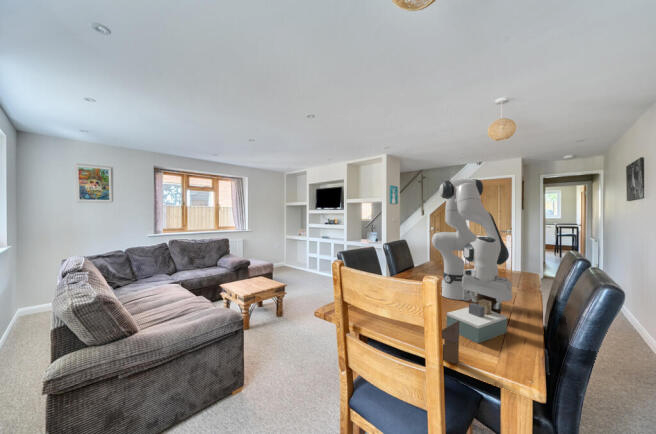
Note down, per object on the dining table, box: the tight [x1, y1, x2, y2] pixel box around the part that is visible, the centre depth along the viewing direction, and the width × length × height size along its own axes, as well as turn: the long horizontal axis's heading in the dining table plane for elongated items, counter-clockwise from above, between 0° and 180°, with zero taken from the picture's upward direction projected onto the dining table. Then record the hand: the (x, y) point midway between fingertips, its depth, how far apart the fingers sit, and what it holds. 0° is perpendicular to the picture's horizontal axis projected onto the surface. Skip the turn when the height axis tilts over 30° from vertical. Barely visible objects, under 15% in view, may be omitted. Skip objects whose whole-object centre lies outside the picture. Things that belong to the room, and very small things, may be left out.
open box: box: [446, 314, 508, 344], centre depth 110 cm, size 20×14×6 cm
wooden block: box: [441, 320, 460, 365], centre depth 90 cm, size 4×11×18 cm, turn 38°
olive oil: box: [476, 293, 503, 315], centre depth 124 cm, size 11×11×25 cm
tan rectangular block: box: [479, 299, 491, 315], centre depth 112 cm, size 4×4×12 cm
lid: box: [446, 302, 508, 328], centre depth 109 cm, size 20×14×5 cm
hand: (485, 304), depth 112 cm, fingers open, 8 cm apart
